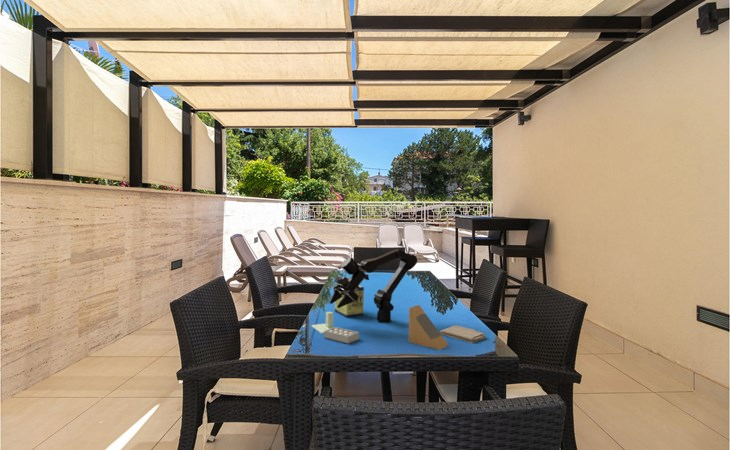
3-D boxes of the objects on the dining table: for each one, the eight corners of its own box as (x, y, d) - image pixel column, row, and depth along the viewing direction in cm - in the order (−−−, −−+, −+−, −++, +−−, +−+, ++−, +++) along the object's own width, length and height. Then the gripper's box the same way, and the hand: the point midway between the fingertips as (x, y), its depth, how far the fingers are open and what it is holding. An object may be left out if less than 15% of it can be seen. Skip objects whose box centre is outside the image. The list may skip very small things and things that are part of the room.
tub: (335, 333, 176) (335, 326, 176) (358, 339, 168) (358, 332, 168) (324, 337, 169) (324, 331, 169) (347, 343, 162) (347, 336, 162)
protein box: (346, 318, 203) (347, 288, 203) (334, 311, 217) (334, 283, 217) (364, 315, 209) (364, 287, 208) (350, 309, 222) (351, 282, 222)
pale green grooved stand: (327, 324, 191) (327, 309, 191) (338, 332, 179) (338, 315, 179) (311, 326, 187) (311, 310, 187) (321, 334, 175) (321, 317, 175)
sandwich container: (440, 350, 156) (441, 313, 156) (408, 342, 166) (408, 307, 165) (449, 345, 163) (450, 309, 162) (418, 337, 172) (419, 304, 172)
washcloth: (473, 344, 165) (473, 337, 165) (438, 335, 178) (438, 328, 178) (487, 339, 173) (487, 332, 173) (452, 330, 186) (452, 323, 186)
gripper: (336, 267, 195) (316, 291, 191) (352, 272, 179) (330, 298, 174) (350, 282, 199) (330, 305, 194) (367, 288, 183) (346, 314, 178)
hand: (333, 305), depth 185 cm, fingers open, 9 cm apart
